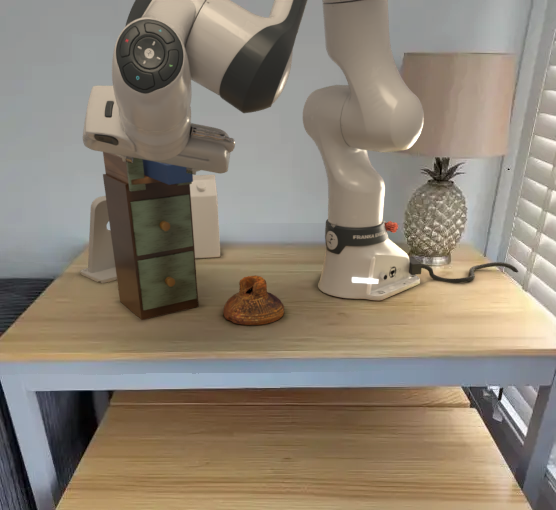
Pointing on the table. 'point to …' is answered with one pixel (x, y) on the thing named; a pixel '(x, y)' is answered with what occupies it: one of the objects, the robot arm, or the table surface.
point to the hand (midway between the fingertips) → (160, 163)
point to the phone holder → (100, 245)
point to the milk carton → (205, 216)
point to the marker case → (166, 172)
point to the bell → (253, 303)
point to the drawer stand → (150, 239)
